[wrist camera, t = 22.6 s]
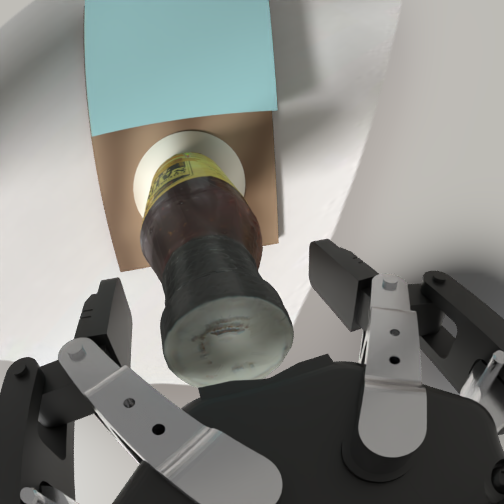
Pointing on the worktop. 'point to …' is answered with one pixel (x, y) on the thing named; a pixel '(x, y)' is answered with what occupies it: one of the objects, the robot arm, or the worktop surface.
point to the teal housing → (176, 60)
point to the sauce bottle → (211, 276)
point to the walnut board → (175, 142)
